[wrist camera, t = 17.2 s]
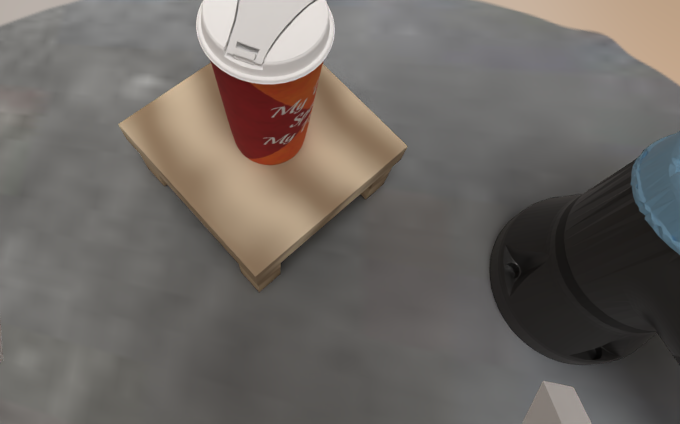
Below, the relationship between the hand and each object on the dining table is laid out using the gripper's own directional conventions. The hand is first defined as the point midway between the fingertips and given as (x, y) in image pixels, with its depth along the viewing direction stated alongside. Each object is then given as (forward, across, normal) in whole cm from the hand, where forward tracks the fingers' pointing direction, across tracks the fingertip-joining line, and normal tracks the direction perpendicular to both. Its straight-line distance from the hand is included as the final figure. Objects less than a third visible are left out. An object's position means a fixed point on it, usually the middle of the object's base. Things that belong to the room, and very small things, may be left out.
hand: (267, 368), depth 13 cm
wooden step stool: (+35, -5, -10) cm, 37 cm away
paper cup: (+30, -5, -4) cm, 30 cm away
